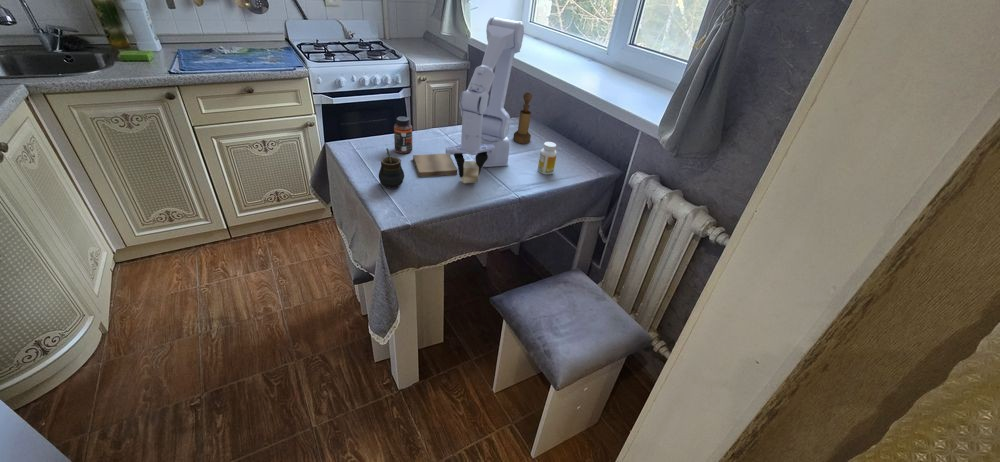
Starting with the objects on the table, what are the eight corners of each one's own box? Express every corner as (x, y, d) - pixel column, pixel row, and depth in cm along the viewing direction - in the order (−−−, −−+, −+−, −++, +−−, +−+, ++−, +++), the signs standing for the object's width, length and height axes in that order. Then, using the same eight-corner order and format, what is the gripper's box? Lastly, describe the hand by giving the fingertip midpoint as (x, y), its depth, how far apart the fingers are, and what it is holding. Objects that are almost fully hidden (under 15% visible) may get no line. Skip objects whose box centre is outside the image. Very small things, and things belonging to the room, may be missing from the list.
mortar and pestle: (530, 144, 162) (537, 97, 151) (513, 142, 161) (519, 95, 151) (529, 137, 167) (536, 91, 157) (513, 135, 167) (518, 89, 156)
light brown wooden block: (448, 158, 146) (448, 153, 145) (457, 175, 137) (457, 170, 136) (413, 160, 143) (413, 155, 141) (419, 178, 133) (419, 172, 132)
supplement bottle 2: (554, 169, 146) (560, 143, 141) (551, 176, 142) (556, 149, 137) (539, 165, 148) (544, 139, 142) (535, 172, 143) (540, 145, 138)
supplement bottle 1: (408, 155, 144) (407, 123, 138) (391, 152, 145) (390, 120, 138) (415, 148, 149) (414, 117, 142) (398, 145, 150) (397, 114, 143)
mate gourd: (385, 193, 123) (383, 161, 118) (374, 181, 128) (372, 150, 122) (408, 187, 127) (407, 156, 121) (397, 176, 132) (396, 146, 126)
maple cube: (473, 175, 135) (474, 160, 132) (477, 182, 131) (478, 167, 128) (459, 176, 133) (460, 161, 130) (463, 183, 130) (464, 168, 127)
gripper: (450, 139, 118) (448, 183, 126) (499, 137, 123) (495, 179, 131) (444, 129, 124) (443, 171, 132) (492, 128, 128) (488, 168, 136)
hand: (468, 174), depth 132 cm, fingers closed on maple cube, 4 cm apart
